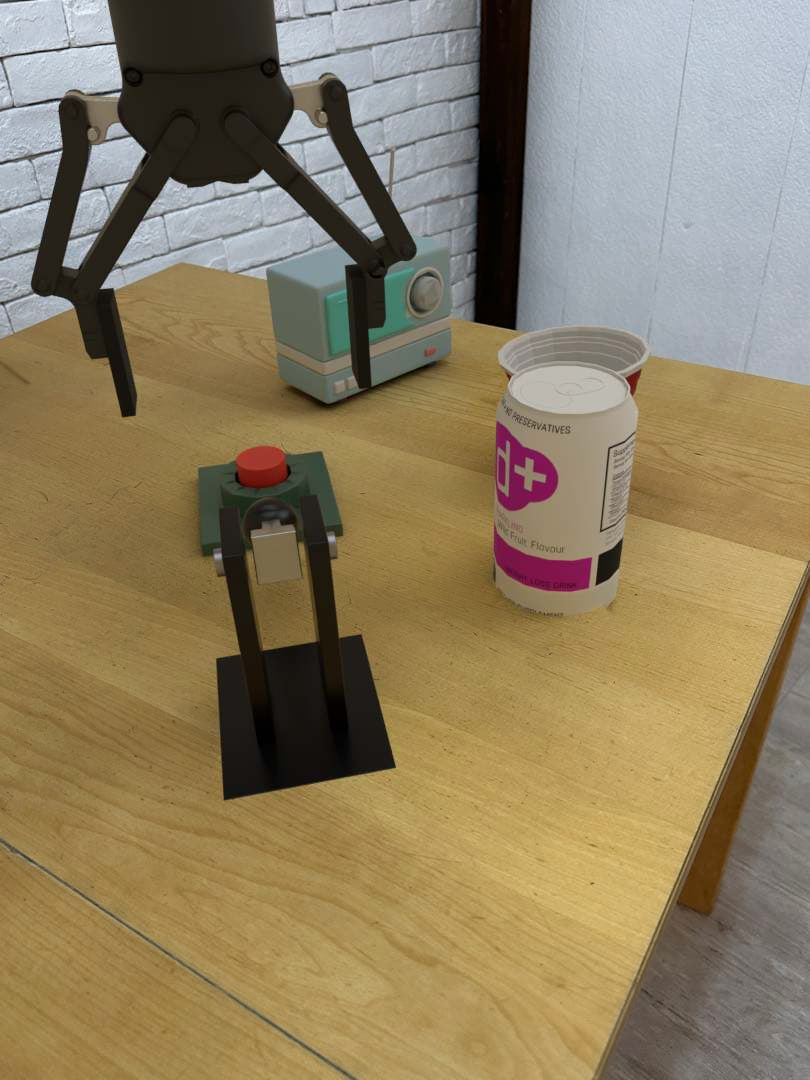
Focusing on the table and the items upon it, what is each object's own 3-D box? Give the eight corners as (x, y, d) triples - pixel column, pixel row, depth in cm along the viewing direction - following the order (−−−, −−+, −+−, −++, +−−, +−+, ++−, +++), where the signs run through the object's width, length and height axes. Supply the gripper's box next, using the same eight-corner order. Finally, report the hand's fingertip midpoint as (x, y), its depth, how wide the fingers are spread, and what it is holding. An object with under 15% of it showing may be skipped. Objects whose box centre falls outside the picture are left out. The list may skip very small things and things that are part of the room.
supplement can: (532, 645, 56) (544, 432, 48) (472, 573, 63) (473, 373, 54) (641, 608, 59) (671, 399, 50) (573, 542, 65) (589, 347, 57)
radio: (335, 417, 83) (314, 190, 71) (279, 387, 89) (251, 173, 77) (460, 365, 91) (459, 154, 80) (401, 341, 97) (392, 141, 85)
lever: (247, 553, 59) (238, 499, 59) (301, 544, 60) (293, 491, 59) (245, 600, 44) (233, 526, 43) (319, 588, 44) (308, 515, 44)
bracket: (218, 672, 56) (177, 480, 48) (363, 648, 57) (346, 456, 49) (226, 815, 47) (177, 608, 39) (397, 782, 48) (383, 576, 40)
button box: (202, 490, 73) (193, 447, 71) (324, 473, 75) (320, 430, 72) (205, 569, 64) (196, 523, 62) (344, 548, 66) (340, 502, 64)
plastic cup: (536, 443, 77) (542, 308, 71) (656, 477, 72) (675, 334, 65) (468, 501, 70) (468, 357, 64) (596, 543, 65) (611, 391, 58)
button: (238, 469, 69) (234, 449, 68) (285, 462, 69) (282, 442, 68) (240, 493, 66) (237, 473, 65) (290, 486, 66) (287, 466, 65)
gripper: (-129, -13, 36) (18, 450, 48) (475, -42, 40) (469, 395, 52) (-86, -25, 42) (35, 389, 54) (435, -49, 46) (438, 344, 58)
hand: (248, 393), depth 53 cm, fingers open, 13 cm apart
